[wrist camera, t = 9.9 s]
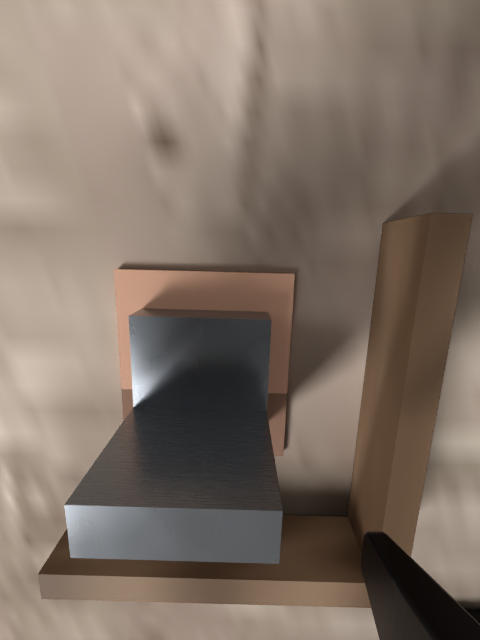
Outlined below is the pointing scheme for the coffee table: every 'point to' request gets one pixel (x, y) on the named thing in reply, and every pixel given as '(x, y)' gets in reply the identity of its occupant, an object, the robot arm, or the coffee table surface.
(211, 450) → the angle bracket
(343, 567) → the l-shaped wooden corner frame
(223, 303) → the pad
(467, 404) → the coffee table surface
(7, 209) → the coffee table surface
